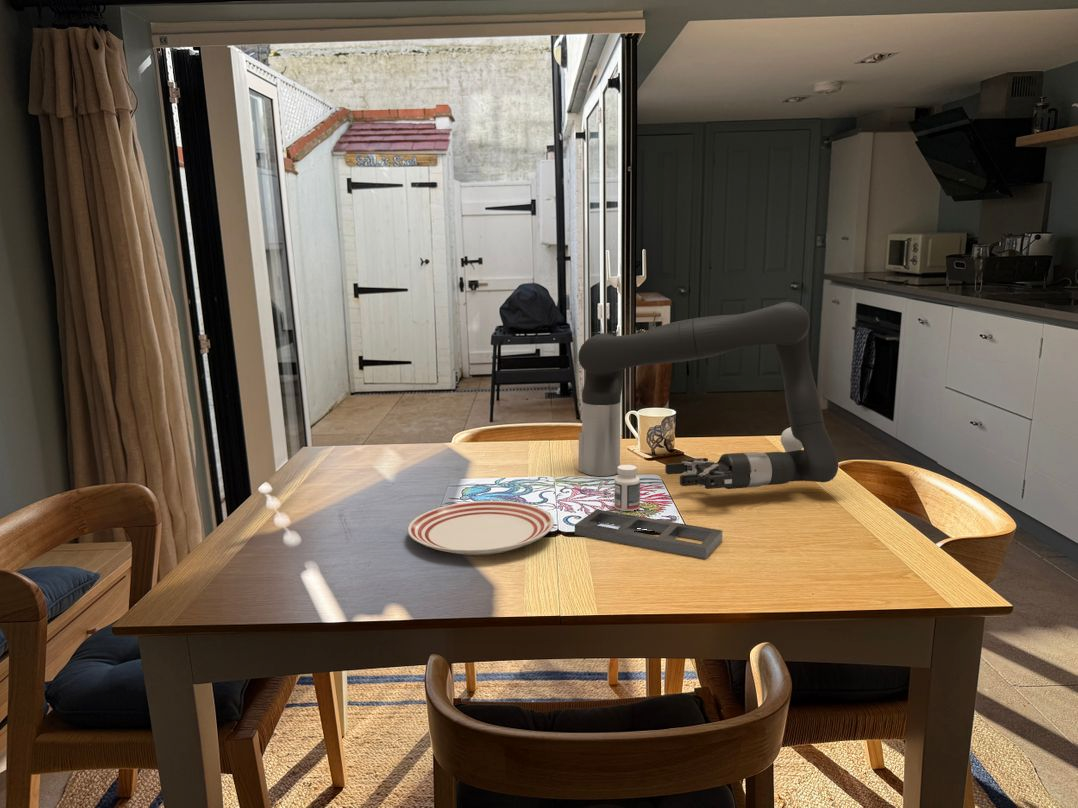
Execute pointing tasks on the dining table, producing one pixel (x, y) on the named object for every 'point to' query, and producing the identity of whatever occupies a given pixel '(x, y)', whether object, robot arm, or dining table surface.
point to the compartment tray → (660, 543)
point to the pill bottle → (627, 489)
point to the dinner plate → (481, 527)
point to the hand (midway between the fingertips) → (672, 474)
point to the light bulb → (790, 441)
